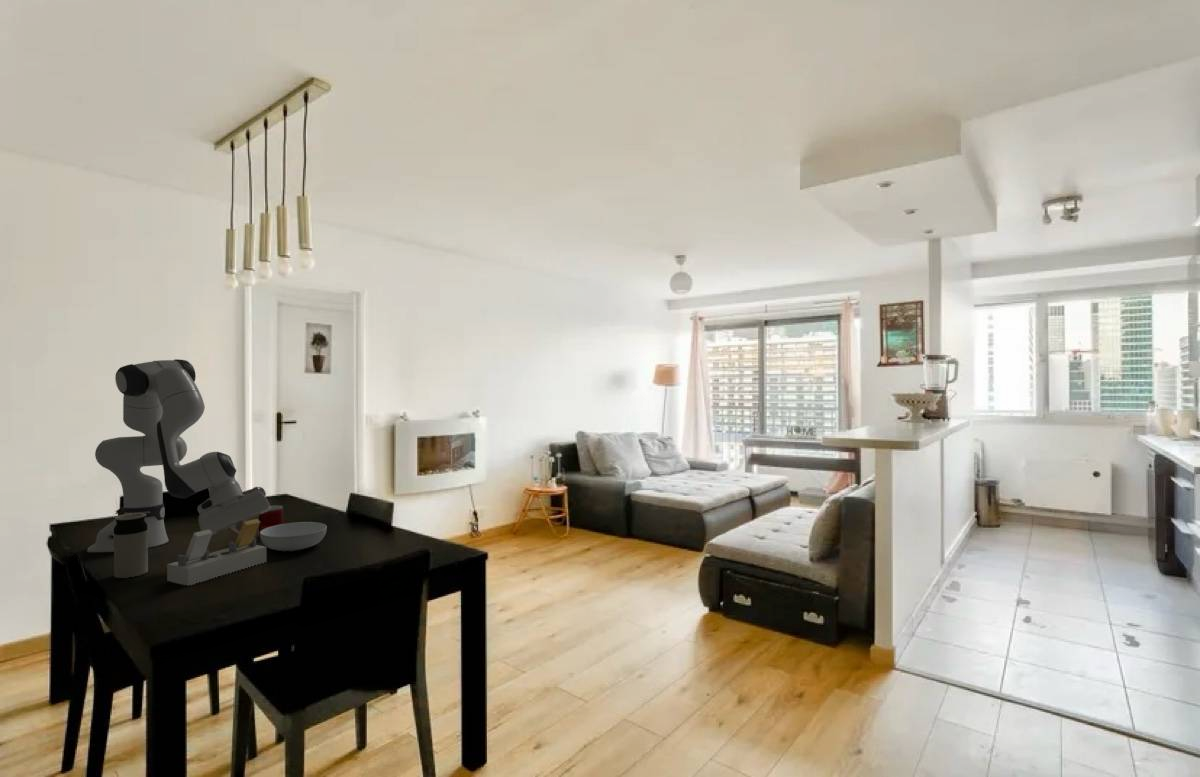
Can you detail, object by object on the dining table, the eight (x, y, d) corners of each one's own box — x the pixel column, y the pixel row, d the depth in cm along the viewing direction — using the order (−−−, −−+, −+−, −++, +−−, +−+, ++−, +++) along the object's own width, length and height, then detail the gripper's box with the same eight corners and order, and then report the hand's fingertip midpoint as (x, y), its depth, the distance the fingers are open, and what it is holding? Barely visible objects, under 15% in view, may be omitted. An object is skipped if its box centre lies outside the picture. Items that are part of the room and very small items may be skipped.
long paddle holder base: (167, 581, 172) (167, 554, 171) (246, 558, 193) (245, 534, 193) (188, 586, 167) (188, 558, 167) (266, 562, 189) (266, 538, 189)
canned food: (287, 535, 222) (287, 506, 222) (265, 540, 215) (265, 510, 215) (276, 532, 226) (275, 504, 226) (254, 537, 219) (254, 508, 219)
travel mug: (152, 573, 179) (152, 514, 178) (121, 580, 172) (120, 519, 172) (140, 568, 183) (140, 511, 182) (109, 576, 176) (108, 516, 176)
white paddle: (182, 560, 172) (192, 533, 170) (200, 555, 176) (210, 529, 174) (186, 563, 171) (196, 536, 169) (203, 558, 176) (213, 532, 174)
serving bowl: (299, 558, 193) (299, 538, 193) (245, 554, 198) (245, 534, 197) (339, 541, 214) (339, 523, 214) (289, 538, 218) (289, 520, 218)
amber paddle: (232, 546, 185) (242, 521, 183) (247, 542, 190) (258, 518, 188) (236, 550, 185) (246, 525, 183) (251, 546, 189) (261, 521, 187)
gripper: (262, 487, 202) (278, 522, 199) (195, 514, 191) (211, 552, 188) (260, 481, 197) (277, 517, 194) (191, 509, 186) (207, 548, 183)
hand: (244, 534), depth 191 cm, fingers closed
